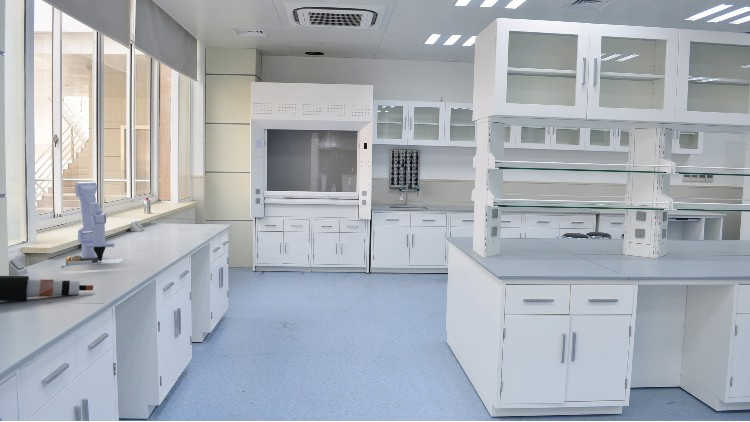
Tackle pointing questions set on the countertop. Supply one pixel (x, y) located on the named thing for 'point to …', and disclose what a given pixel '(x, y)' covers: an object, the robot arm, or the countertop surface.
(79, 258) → the slider block
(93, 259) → the bar
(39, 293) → the cable
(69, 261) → the channel
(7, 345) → the countertop surface
